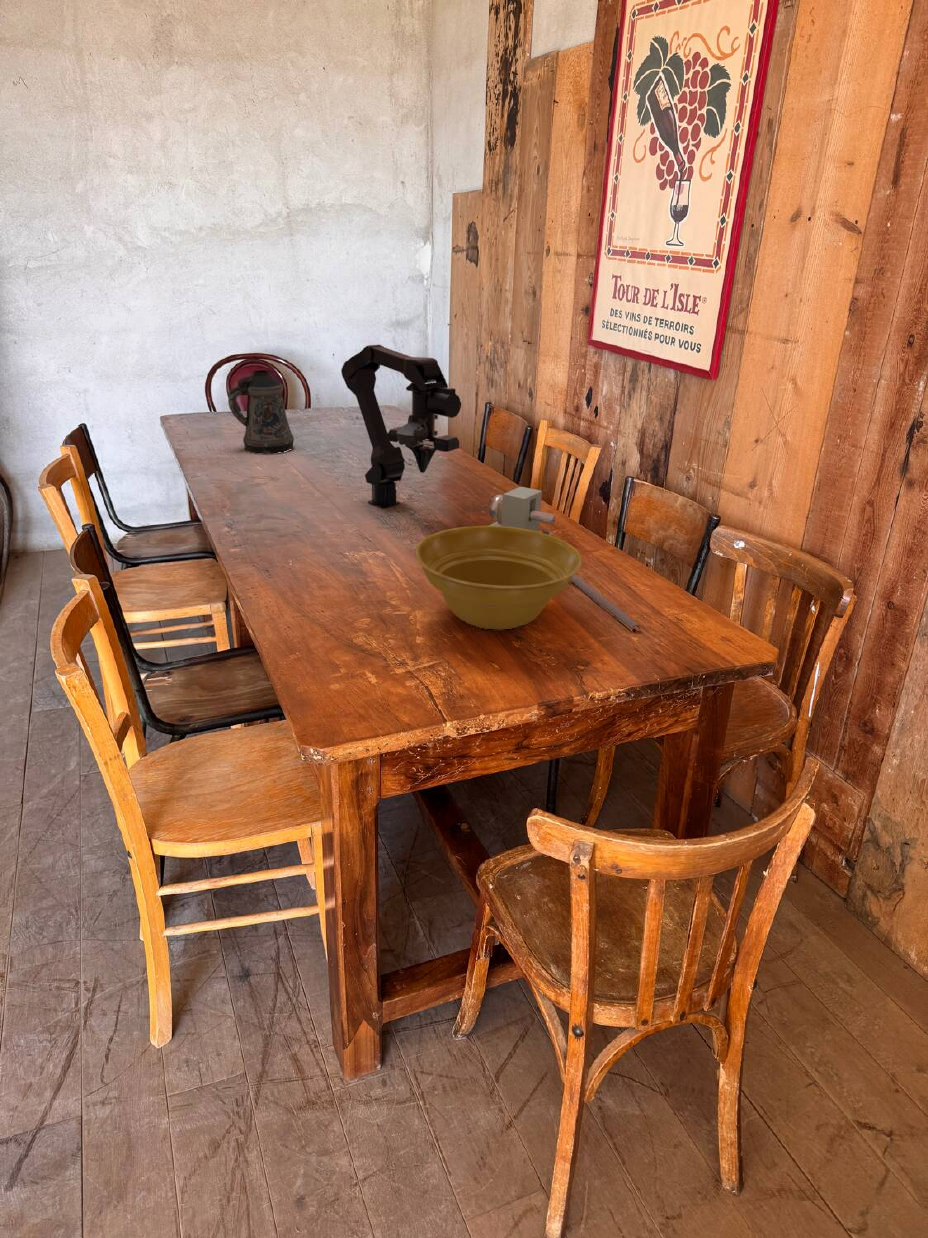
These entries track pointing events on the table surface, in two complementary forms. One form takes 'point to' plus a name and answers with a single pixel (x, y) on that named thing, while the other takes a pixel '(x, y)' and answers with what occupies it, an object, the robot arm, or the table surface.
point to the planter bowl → (497, 572)
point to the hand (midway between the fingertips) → (422, 472)
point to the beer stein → (262, 413)
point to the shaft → (532, 513)
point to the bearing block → (521, 509)
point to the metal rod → (603, 602)
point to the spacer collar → (500, 512)
